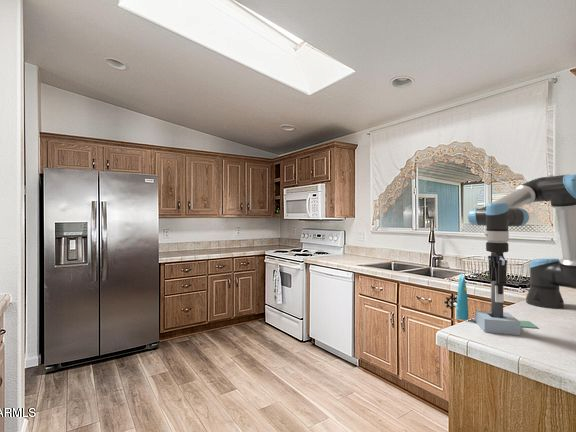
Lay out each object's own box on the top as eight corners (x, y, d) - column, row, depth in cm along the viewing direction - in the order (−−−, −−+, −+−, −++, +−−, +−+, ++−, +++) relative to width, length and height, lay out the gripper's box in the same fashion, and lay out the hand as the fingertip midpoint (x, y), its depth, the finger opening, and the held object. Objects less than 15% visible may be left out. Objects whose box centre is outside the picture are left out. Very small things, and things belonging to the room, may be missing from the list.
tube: (471, 321, 137) (471, 276, 137) (458, 320, 138) (458, 276, 138) (465, 316, 144) (465, 273, 144) (453, 315, 145) (453, 273, 145)
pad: (529, 322, 136) (529, 321, 136) (538, 328, 129) (538, 327, 129) (507, 320, 138) (507, 319, 138) (515, 326, 131) (515, 325, 131)
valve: (472, 316, 144) (457, 309, 156) (472, 301, 144) (457, 295, 156) (458, 316, 144) (444, 309, 156) (458, 302, 144) (444, 295, 156)
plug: (501, 316, 130) (501, 281, 130) (504, 319, 126) (504, 283, 126) (489, 315, 131) (489, 280, 131) (493, 318, 127) (493, 282, 127)
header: (507, 324, 133) (507, 312, 133) (520, 335, 122) (520, 321, 122) (475, 322, 136) (475, 310, 136) (484, 332, 125) (484, 319, 125)
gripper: (479, 240, 138) (480, 294, 138) (493, 243, 121) (494, 305, 121) (499, 240, 136) (500, 295, 136) (516, 243, 119) (517, 307, 119)
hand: (497, 300), depth 128 cm, fingers closed on plug, 4 cm apart
